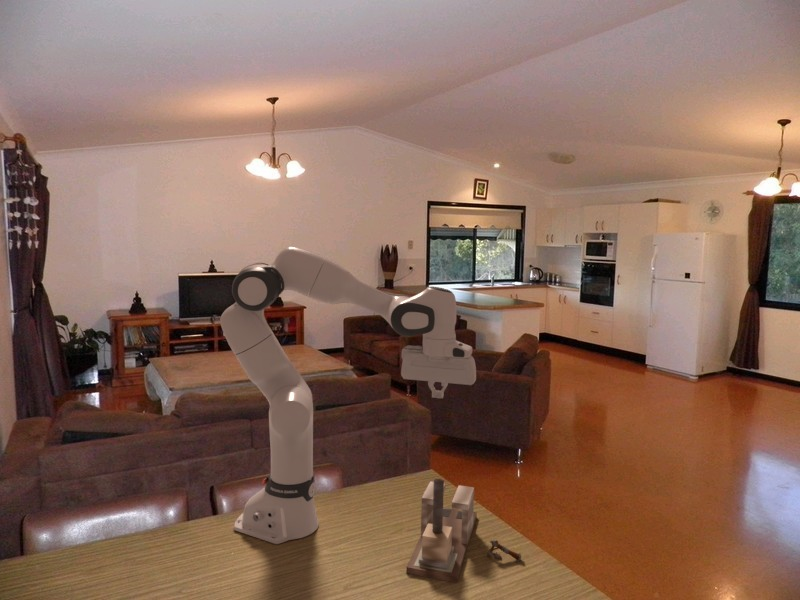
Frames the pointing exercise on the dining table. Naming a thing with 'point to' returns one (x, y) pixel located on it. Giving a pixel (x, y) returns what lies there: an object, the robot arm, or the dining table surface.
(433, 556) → the rod on wooden block
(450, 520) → the tunnel track
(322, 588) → the dining table surface
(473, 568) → the dining table surface
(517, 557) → the toy flintlock pistol
